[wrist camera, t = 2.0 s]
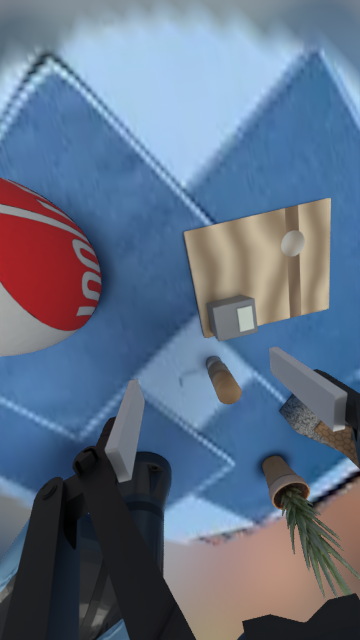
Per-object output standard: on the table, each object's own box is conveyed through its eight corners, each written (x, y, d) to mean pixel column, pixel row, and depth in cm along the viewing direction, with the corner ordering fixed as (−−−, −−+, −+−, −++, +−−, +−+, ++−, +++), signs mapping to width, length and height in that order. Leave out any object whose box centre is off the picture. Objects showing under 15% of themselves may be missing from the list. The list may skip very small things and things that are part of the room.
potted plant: (288, 473, 48) (404, 665, 25) (255, 478, 48) (342, 678, 24) (290, 446, 46) (424, 633, 22) (256, 451, 45) (355, 647, 21)
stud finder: (211, 332, 34) (219, 342, 28) (206, 303, 32) (213, 308, 27) (245, 323, 34) (259, 332, 29) (241, 294, 32) (255, 298, 27)
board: (203, 335, 35) (205, 338, 34) (183, 233, 30) (183, 231, 29) (322, 307, 36) (329, 308, 34) (322, 201, 30) (330, 197, 29)
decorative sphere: (131, 314, 33) (80, 370, 14) (31, 336, 33) (-161, 423, 14) (98, 201, 28) (-59, 37, 9) (-21, 226, 28) (-458, 113, 8)
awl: (206, 373, 38) (219, 406, 28) (203, 357, 37) (216, 386, 27) (223, 368, 38) (242, 401, 28) (221, 353, 37) (239, 381, 27)
